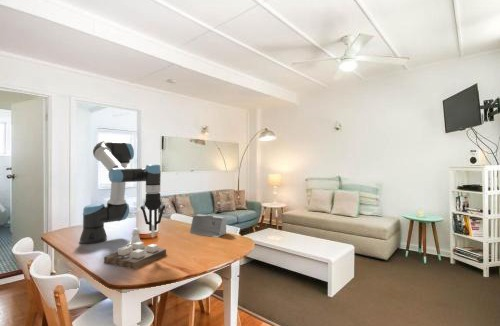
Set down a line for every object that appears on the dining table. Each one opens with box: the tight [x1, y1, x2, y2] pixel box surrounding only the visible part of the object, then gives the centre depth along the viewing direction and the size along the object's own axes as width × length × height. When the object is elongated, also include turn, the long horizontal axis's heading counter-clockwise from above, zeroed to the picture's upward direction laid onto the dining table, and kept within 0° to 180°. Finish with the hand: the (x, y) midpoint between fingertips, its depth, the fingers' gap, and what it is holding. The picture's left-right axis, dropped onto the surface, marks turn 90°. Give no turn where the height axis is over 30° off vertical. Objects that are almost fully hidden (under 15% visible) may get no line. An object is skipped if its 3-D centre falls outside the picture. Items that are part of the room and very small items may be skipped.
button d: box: [146, 243, 159, 253], centre depth 148 cm, size 4×4×4 cm
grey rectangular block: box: [189, 213, 227, 238], centre depth 199 cm, size 25×16×12 cm, turn 64°
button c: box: [133, 241, 145, 250], centre depth 152 cm, size 4×4×4 cm
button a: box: [117, 246, 130, 256], centre depth 143 cm, size 4×4×4 cm
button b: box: [132, 249, 144, 259], centre depth 139 cm, size 4×4×4 cm
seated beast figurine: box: [126, 227, 143, 248], centre depth 163 cm, size 10×9×12 cm
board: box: [103, 245, 167, 270], centre depth 145 cm, size 20×22×4 cm
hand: (152, 236), depth 148 cm, fingers closed
